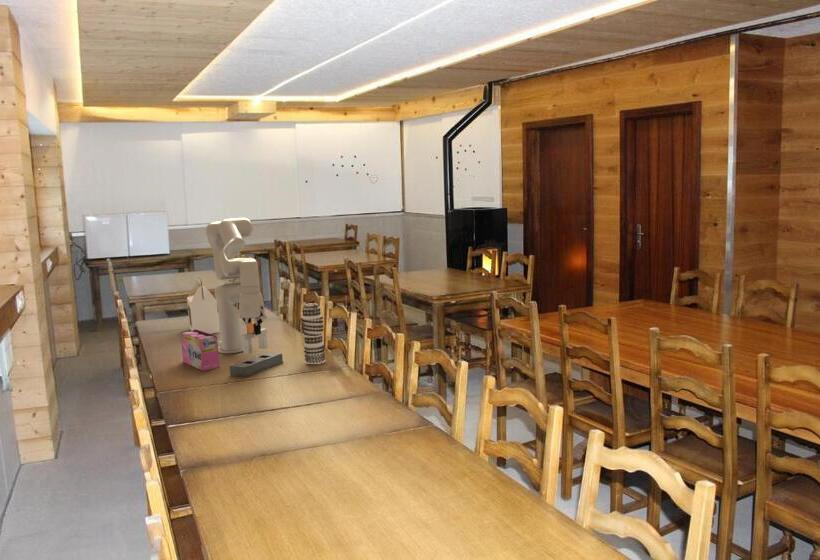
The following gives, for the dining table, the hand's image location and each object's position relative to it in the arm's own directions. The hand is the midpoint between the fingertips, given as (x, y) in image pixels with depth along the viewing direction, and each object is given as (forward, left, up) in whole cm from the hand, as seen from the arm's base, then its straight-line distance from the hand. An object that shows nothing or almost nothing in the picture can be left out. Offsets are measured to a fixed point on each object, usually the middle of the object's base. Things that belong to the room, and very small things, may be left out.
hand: (254, 333), depth 309 cm
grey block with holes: (0, 0, -15) cm, 15 cm away
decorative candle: (+18, +16, -15) cm, 28 cm away
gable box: (-83, +58, -15) cm, 103 cm away
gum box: (-30, -1, -15) cm, 34 cm away
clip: (0, 0, -7) cm, 7 cm away
